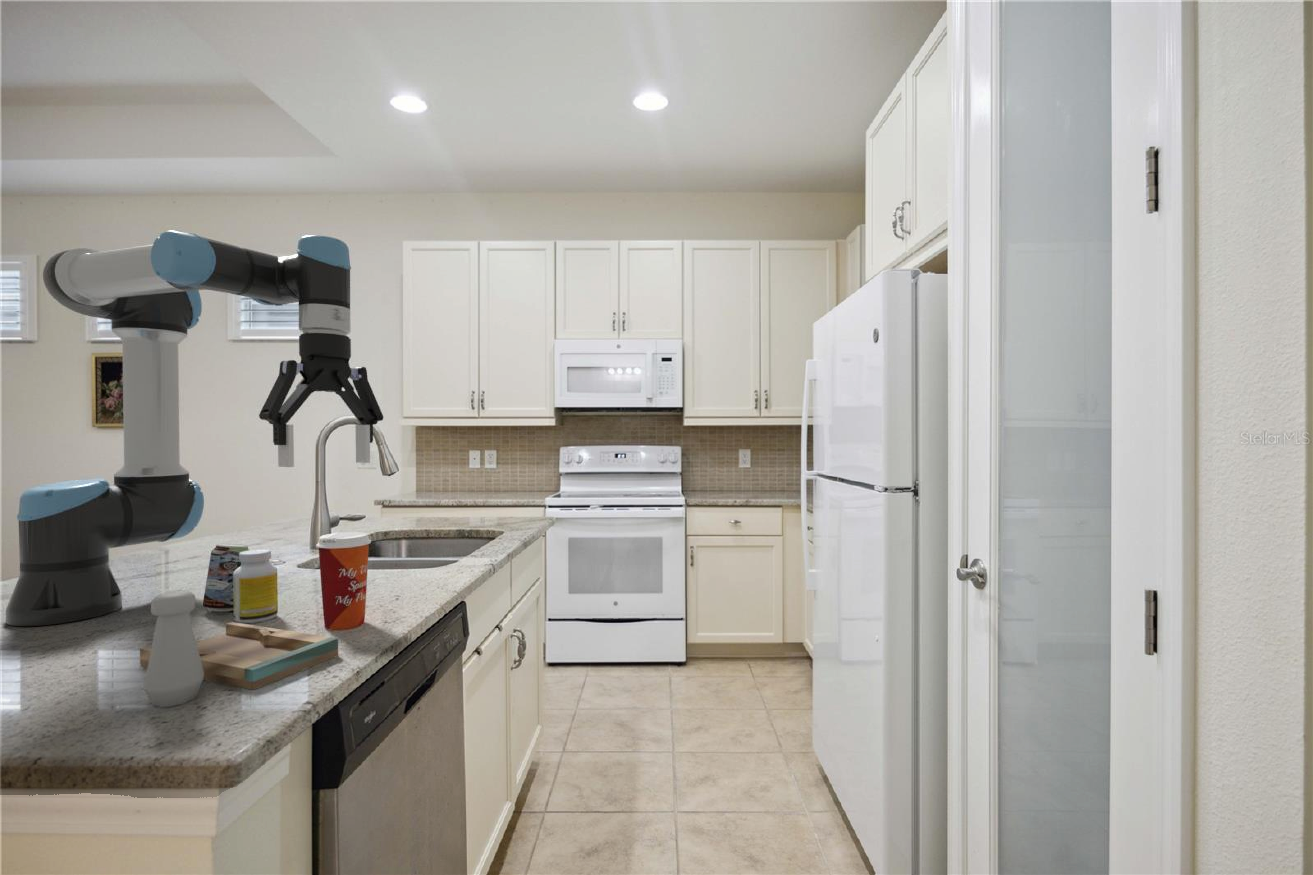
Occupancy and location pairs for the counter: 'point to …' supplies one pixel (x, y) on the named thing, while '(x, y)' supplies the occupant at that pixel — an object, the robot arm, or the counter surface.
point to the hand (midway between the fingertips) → (326, 464)
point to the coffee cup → (343, 578)
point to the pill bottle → (255, 587)
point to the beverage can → (222, 576)
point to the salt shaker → (173, 652)
